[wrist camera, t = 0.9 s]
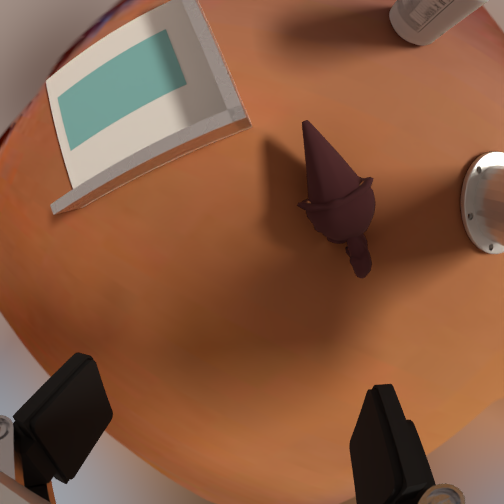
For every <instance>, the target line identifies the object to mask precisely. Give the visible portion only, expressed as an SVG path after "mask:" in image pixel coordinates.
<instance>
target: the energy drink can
mask: <svg viewBox="0 0 504 504" xmlns="http://www.w3.org/2000/svg"><path fill="white" fill-rule="evenodd" d="M487 1H489V0H397V1H396V2H395V4H394V5H393V6H392V8H391V9H390V12H389V18H390V21H391V24H392V26H393V28H394V30H395V31H396V32H397V34H398V35H399V36H400V37H402V38H403V39H404V40H406V41H408V42H410V43H413V44H417V45H423V46H424V45H429V44H431V43H432V42H433V41H435V40H436V39H437V38H439V37H440V36H441V35H442V34H444V33H445V32H446V31H448V30H449V29H450V28H452V27H453V26H454V25H456V24H457V23H458V22H460V21H461V20H462V19H464V18H465V17H467V16H468V15H469V14H471V13H472V12H473V11H475V10H476V9H478V8H479V7H480V6H482V5H483V4H485V3H486V2H487Z"/></svg>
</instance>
